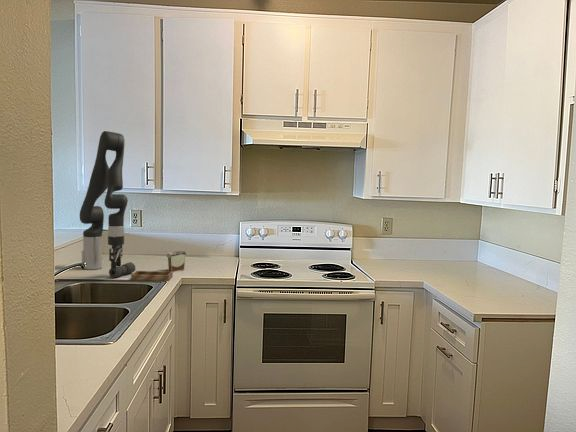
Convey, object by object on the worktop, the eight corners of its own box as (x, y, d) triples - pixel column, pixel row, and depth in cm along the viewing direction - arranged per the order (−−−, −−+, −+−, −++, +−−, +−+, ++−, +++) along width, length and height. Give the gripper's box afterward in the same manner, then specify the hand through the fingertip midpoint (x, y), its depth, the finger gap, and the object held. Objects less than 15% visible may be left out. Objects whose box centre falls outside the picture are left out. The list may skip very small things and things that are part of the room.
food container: (177, 267, 262) (178, 250, 261) (186, 269, 259) (186, 251, 258) (161, 271, 251) (161, 252, 251) (169, 272, 248) (170, 254, 247)
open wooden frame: (131, 280, 228) (131, 274, 228) (136, 275, 238) (136, 270, 238) (169, 280, 229) (169, 275, 229) (172, 276, 239) (172, 271, 239)
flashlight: (117, 268, 228) (108, 265, 230) (115, 279, 229) (106, 276, 231) (136, 263, 243) (128, 260, 245) (135, 273, 244) (126, 270, 245)
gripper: (112, 233, 238) (112, 264, 239) (103, 236, 223) (103, 270, 225) (127, 233, 238) (127, 265, 239) (119, 236, 224) (119, 270, 225)
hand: (116, 267), depth 232 cm, fingers open, 8 cm apart
